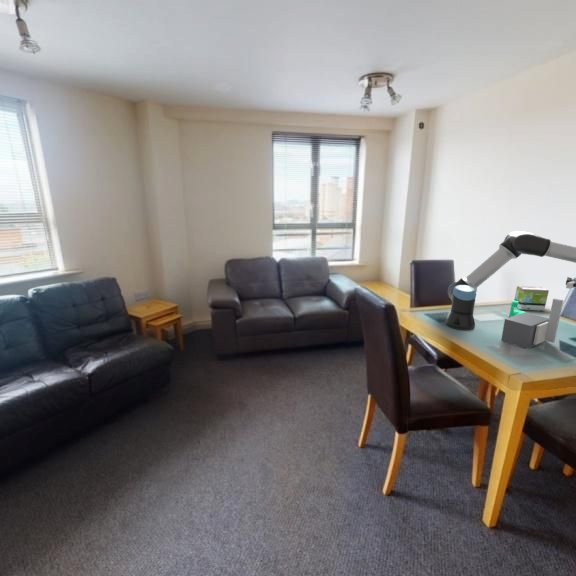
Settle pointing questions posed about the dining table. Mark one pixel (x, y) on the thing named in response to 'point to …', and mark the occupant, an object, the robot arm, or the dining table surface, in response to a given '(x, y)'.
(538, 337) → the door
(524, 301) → the tea box
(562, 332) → the dining table surface
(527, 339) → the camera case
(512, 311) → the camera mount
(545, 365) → the dining table surface
